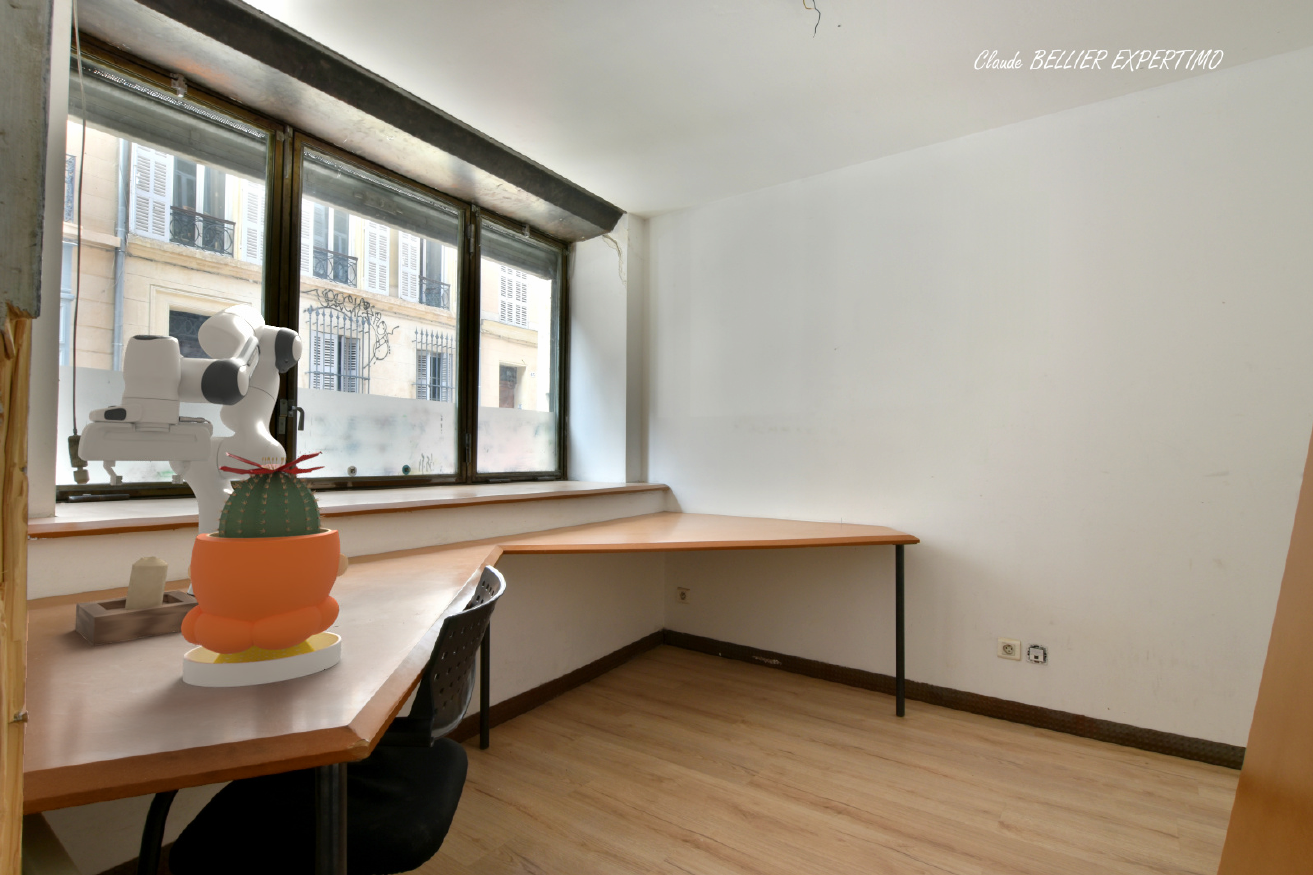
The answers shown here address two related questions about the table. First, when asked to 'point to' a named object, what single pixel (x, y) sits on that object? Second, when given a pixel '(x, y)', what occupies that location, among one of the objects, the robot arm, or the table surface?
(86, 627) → the walnut block
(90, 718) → the table surface
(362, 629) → the table surface
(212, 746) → the table surface
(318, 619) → the potted cactus
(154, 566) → the candle
